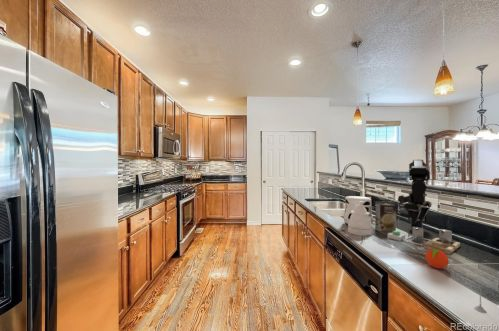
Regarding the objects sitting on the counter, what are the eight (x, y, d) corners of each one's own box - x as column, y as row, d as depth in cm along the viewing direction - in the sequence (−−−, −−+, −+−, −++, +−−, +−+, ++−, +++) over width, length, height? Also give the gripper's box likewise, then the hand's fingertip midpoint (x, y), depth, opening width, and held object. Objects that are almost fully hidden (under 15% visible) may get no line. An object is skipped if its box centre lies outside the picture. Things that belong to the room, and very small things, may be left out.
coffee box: (379, 232, 133) (380, 204, 133) (374, 228, 140) (375, 203, 140) (396, 232, 132) (396, 205, 132) (390, 229, 139) (391, 203, 139)
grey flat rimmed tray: (412, 238, 123) (412, 235, 123) (432, 242, 116) (432, 240, 116) (402, 242, 116) (402, 239, 116) (423, 248, 108) (423, 245, 108)
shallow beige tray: (435, 242, 116) (436, 237, 116) (459, 248, 109) (460, 242, 109) (423, 249, 106) (423, 244, 106) (449, 256, 99) (449, 250, 99)
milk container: (340, 221, 157) (340, 195, 157) (366, 222, 156) (366, 196, 156) (348, 228, 140) (348, 199, 140) (377, 229, 138) (378, 200, 138)
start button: (394, 235, 122) (394, 230, 122) (400, 236, 119) (400, 231, 119) (391, 236, 120) (391, 231, 120) (398, 237, 117) (398, 232, 117)
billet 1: (413, 239, 119) (414, 226, 119) (424, 242, 115) (424, 228, 115) (410, 241, 116) (410, 227, 116) (421, 244, 112) (421, 229, 112)
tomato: (444, 274, 82) (444, 255, 82) (421, 267, 88) (421, 249, 88) (450, 268, 87) (451, 250, 87) (428, 262, 93) (428, 244, 93)
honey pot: (352, 227, 142) (353, 199, 141) (375, 232, 132) (375, 201, 132) (344, 232, 133) (344, 201, 132) (367, 237, 123) (368, 204, 123)
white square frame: (392, 237, 124) (392, 231, 124) (404, 240, 119) (405, 234, 119) (387, 239, 120) (387, 233, 120) (400, 242, 115) (400, 236, 115)
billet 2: (440, 242, 113) (440, 228, 113) (452, 245, 110) (453, 231, 110) (437, 244, 111) (437, 230, 111) (449, 247, 107) (450, 232, 107)
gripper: (407, 188, 127) (407, 216, 128) (392, 190, 117) (392, 221, 117) (431, 190, 118) (431, 220, 119) (418, 193, 108) (417, 226, 108)
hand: (417, 221), depth 116 cm, fingers open, 9 cm apart
